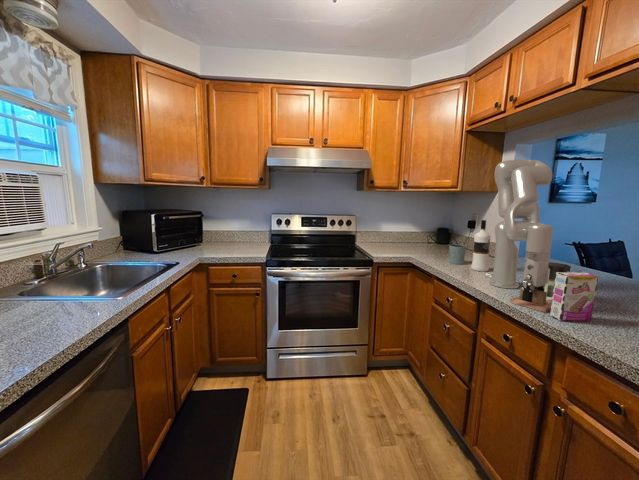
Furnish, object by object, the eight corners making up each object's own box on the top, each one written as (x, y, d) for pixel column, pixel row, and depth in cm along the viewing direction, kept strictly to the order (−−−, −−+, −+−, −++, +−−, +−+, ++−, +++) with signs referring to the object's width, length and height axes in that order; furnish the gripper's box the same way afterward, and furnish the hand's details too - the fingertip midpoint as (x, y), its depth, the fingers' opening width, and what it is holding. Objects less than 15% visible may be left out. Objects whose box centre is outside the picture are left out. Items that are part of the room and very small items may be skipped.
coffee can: (571, 297, 122) (575, 265, 120) (560, 301, 117) (564, 268, 115) (543, 290, 131) (546, 261, 129) (531, 294, 126) (535, 263, 124)
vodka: (474, 267, 175) (478, 219, 171) (491, 270, 168) (495, 220, 164) (468, 269, 170) (471, 219, 165) (484, 272, 162) (489, 220, 158)
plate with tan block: (510, 302, 115) (511, 287, 114) (519, 299, 119) (520, 284, 118) (545, 312, 105) (547, 295, 104) (554, 308, 109) (556, 292, 108)
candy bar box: (561, 322, 97) (567, 275, 95) (549, 316, 102) (554, 271, 100) (592, 321, 97) (599, 275, 95) (579, 315, 102) (585, 271, 100)
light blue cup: (461, 262, 191) (462, 244, 190) (467, 265, 181) (469, 247, 180) (445, 261, 192) (447, 244, 190) (451, 265, 182) (452, 246, 181)
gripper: (538, 260, 101) (533, 306, 104) (558, 255, 110) (553, 297, 113) (515, 256, 108) (511, 299, 110) (536, 252, 117) (531, 292, 119)
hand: (532, 298), depth 111 cm, fingers open, 9 cm apart
